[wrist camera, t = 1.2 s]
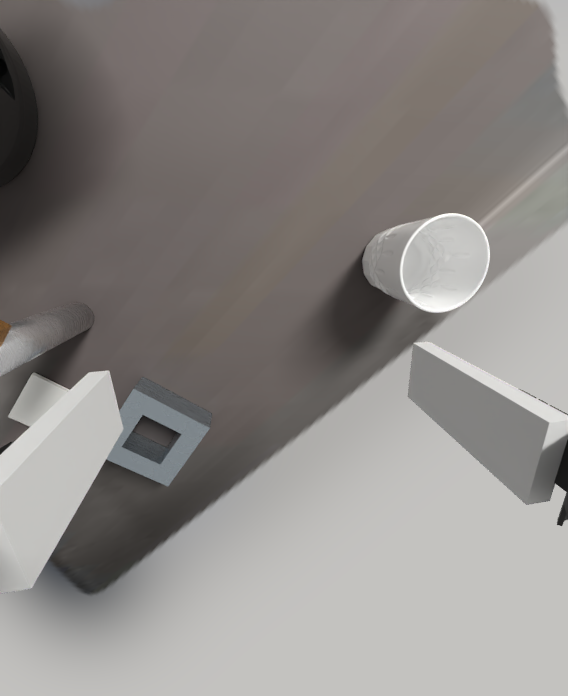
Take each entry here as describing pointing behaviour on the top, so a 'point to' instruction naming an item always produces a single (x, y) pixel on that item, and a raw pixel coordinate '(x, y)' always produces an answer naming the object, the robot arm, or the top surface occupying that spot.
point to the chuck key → (41, 333)
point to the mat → (36, 399)
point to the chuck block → (167, 412)
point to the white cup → (429, 261)
